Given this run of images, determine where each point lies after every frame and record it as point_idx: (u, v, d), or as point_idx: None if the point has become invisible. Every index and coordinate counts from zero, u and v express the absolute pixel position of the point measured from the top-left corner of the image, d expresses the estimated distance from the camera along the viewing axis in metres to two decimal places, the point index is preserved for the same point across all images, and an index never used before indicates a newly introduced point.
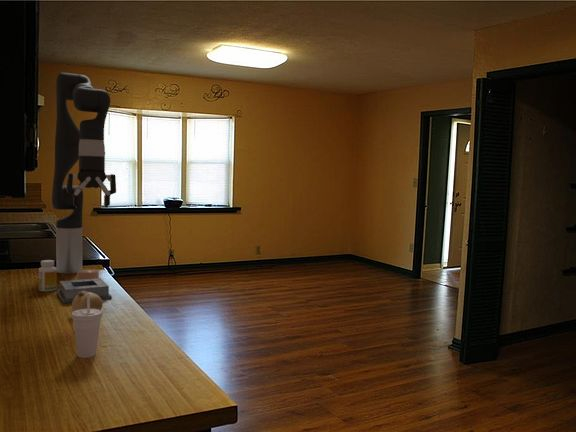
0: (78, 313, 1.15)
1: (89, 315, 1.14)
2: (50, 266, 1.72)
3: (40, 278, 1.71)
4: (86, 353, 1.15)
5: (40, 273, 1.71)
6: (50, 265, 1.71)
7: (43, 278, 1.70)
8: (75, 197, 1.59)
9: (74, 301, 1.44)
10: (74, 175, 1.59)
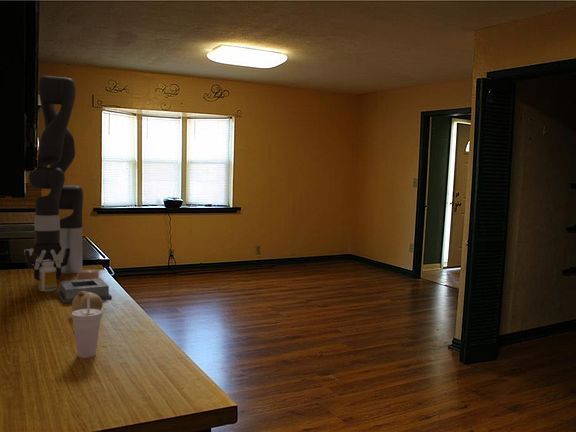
0: (78, 313, 1.15)
1: (89, 315, 1.14)
2: (50, 266, 1.72)
3: (40, 278, 1.71)
4: (86, 353, 1.15)
5: (40, 273, 1.71)
6: (50, 265, 1.71)
7: (43, 278, 1.70)
8: (35, 271, 1.70)
9: (74, 301, 1.44)
10: (30, 250, 1.69)
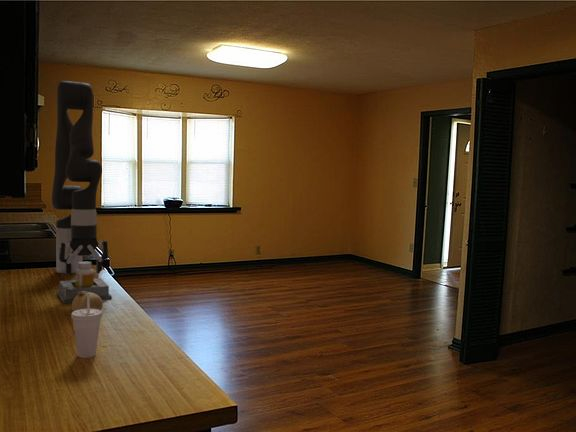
0: (78, 313, 1.15)
1: (89, 315, 1.14)
2: (88, 268, 1.65)
3: (77, 280, 1.64)
4: (86, 353, 1.15)
5: (77, 275, 1.64)
6: (87, 267, 1.65)
7: (80, 281, 1.64)
8: (67, 265, 1.63)
9: (74, 301, 1.44)
10: (66, 244, 1.62)
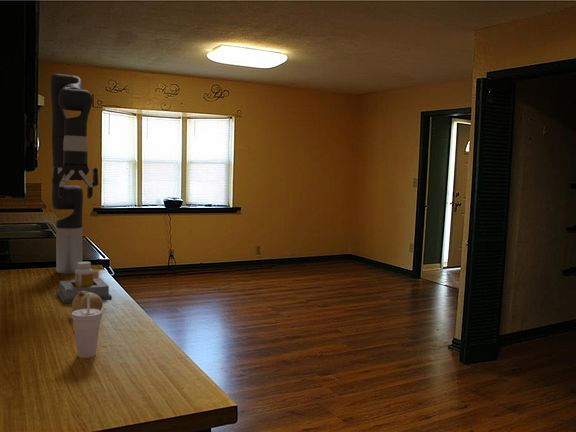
0: (78, 313, 1.15)
1: (89, 315, 1.14)
2: (87, 268, 1.65)
3: (76, 280, 1.65)
4: (86, 353, 1.15)
5: (77, 275, 1.64)
6: (86, 267, 1.65)
7: (79, 281, 1.64)
8: (60, 189, 1.74)
9: (74, 301, 1.44)
10: (59, 168, 1.73)
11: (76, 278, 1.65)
